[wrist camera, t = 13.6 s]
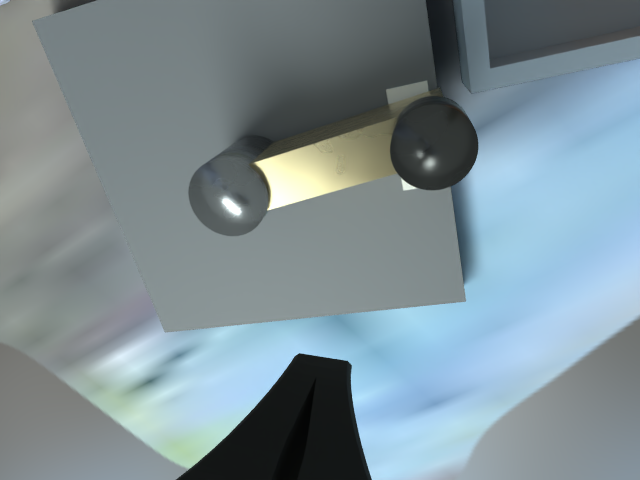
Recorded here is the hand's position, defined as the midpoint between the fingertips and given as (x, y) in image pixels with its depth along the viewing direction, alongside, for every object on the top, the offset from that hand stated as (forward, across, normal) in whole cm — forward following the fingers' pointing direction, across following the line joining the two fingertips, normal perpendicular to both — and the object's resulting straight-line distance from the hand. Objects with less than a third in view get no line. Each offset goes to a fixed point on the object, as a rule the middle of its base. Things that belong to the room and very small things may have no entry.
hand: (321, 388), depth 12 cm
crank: (+8, +1, -4) cm, 9 cm away
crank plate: (+9, +4, -3) cm, 11 cm away
